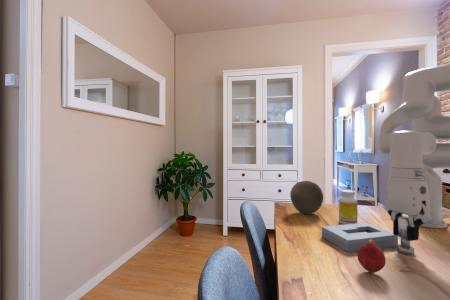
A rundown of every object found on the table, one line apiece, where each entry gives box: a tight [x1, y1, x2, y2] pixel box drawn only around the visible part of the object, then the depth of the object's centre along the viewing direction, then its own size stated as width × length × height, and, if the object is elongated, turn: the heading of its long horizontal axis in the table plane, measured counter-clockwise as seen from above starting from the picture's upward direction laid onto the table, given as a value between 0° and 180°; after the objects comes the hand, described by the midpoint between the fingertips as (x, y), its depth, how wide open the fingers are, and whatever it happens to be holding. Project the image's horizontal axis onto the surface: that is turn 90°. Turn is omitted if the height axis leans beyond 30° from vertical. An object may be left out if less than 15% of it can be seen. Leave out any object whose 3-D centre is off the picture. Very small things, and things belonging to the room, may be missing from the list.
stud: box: [396, 215, 415, 256], centre depth 68 cm, size 4×4×10 cm
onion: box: [356, 239, 386, 274], centre depth 57 cm, size 6×6×8 cm
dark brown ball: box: [289, 180, 324, 215], centre depth 107 cm, size 14×14×15 cm
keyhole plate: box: [321, 222, 399, 253], centre depth 77 cm, size 18×12×3 cm, turn 103°
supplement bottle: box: [338, 189, 358, 225], centre depth 94 cm, size 7×7×13 cm
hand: (405, 236), depth 68 cm, fingers closed on stud, 3 cm apart
